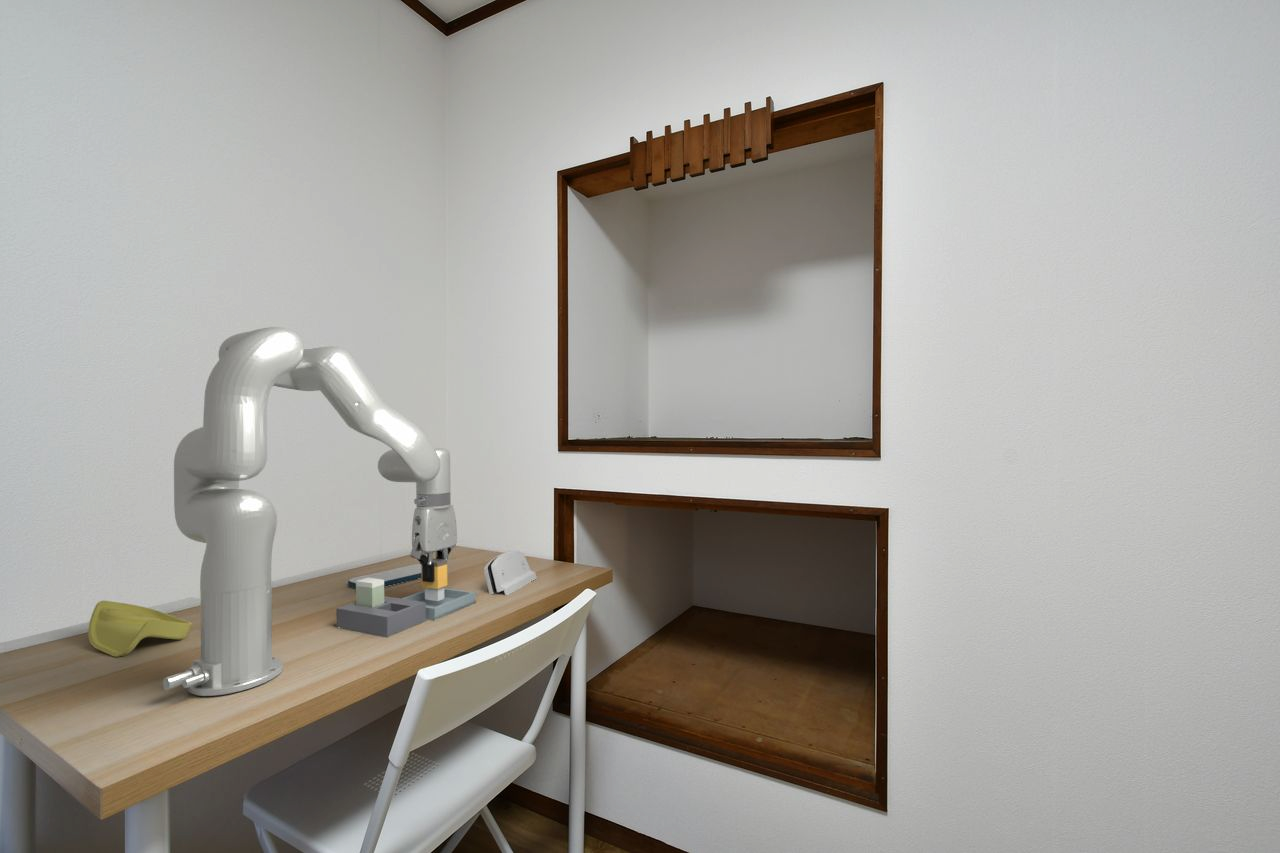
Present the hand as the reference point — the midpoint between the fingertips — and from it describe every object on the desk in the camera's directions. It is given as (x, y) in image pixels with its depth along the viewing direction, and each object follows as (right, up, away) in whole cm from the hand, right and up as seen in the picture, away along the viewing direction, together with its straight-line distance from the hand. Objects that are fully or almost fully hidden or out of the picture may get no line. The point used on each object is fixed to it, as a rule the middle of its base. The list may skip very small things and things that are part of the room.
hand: (434, 578), depth 125 cm
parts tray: (0, -7, 0) cm, 7 cm away
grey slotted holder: (+13, -7, +17) cm, 23 cm away
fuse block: (-7, -7, -10) cm, 14 cm away
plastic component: (-53, -8, -17) cm, 57 cm away
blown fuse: (0, -5, 0) cm, 5 cm away
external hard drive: (-21, -8, +26) cm, 35 cm away
